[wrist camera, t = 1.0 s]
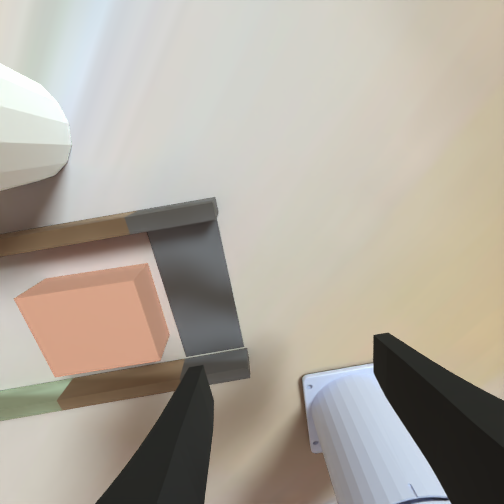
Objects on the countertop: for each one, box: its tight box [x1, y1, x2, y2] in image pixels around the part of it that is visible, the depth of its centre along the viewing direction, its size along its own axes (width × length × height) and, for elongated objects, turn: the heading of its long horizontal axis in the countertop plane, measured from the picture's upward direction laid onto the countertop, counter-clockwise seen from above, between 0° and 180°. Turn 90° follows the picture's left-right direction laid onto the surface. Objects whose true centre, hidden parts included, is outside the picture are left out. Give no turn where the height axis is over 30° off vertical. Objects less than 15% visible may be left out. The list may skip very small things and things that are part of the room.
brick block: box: [14, 263, 170, 377], centre depth 17 cm, size 6×7×3 cm
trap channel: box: [0, 197, 250, 421], centre depth 18 cm, size 13×29×2 cm, turn 99°
